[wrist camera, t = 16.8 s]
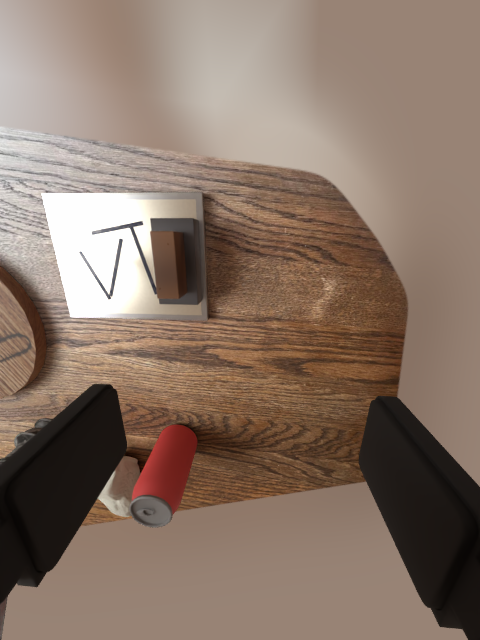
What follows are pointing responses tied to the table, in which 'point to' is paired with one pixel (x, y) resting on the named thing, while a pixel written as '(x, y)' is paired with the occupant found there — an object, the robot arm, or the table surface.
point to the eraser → (176, 260)
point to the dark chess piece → (26, 436)
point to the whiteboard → (119, 252)
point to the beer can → (164, 477)
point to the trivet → (18, 337)
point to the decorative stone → (121, 487)
